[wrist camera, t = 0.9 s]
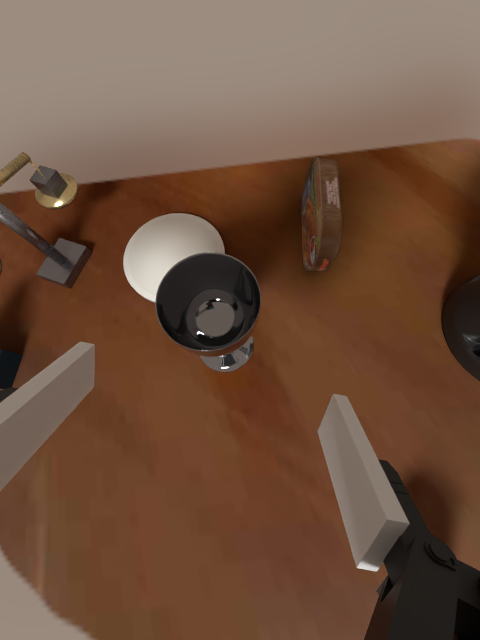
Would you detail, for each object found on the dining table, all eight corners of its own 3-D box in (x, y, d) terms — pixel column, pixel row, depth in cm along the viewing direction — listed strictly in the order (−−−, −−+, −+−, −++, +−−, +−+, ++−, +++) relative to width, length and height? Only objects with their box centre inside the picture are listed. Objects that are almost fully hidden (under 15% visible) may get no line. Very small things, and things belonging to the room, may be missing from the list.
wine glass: (198, 311, 36) (164, 248, 22) (258, 315, 36) (264, 254, 22) (189, 372, 34) (145, 346, 20) (254, 378, 34) (257, 355, 19)
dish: (239, 231, 40) (239, 227, 39) (202, 319, 36) (200, 316, 35) (152, 206, 42) (149, 201, 41) (108, 286, 38) (104, 283, 37)
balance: (84, 211, 42) (-2, 108, 28) (113, 220, 41) (40, 119, 27) (18, 316, 37) (-128, 257, 23) (49, 328, 36) (-81, 275, 22)
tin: (300, 191, 42) (312, 139, 34) (321, 191, 42) (338, 139, 34) (302, 282, 37) (316, 247, 29) (326, 283, 37) (347, 248, 29)
